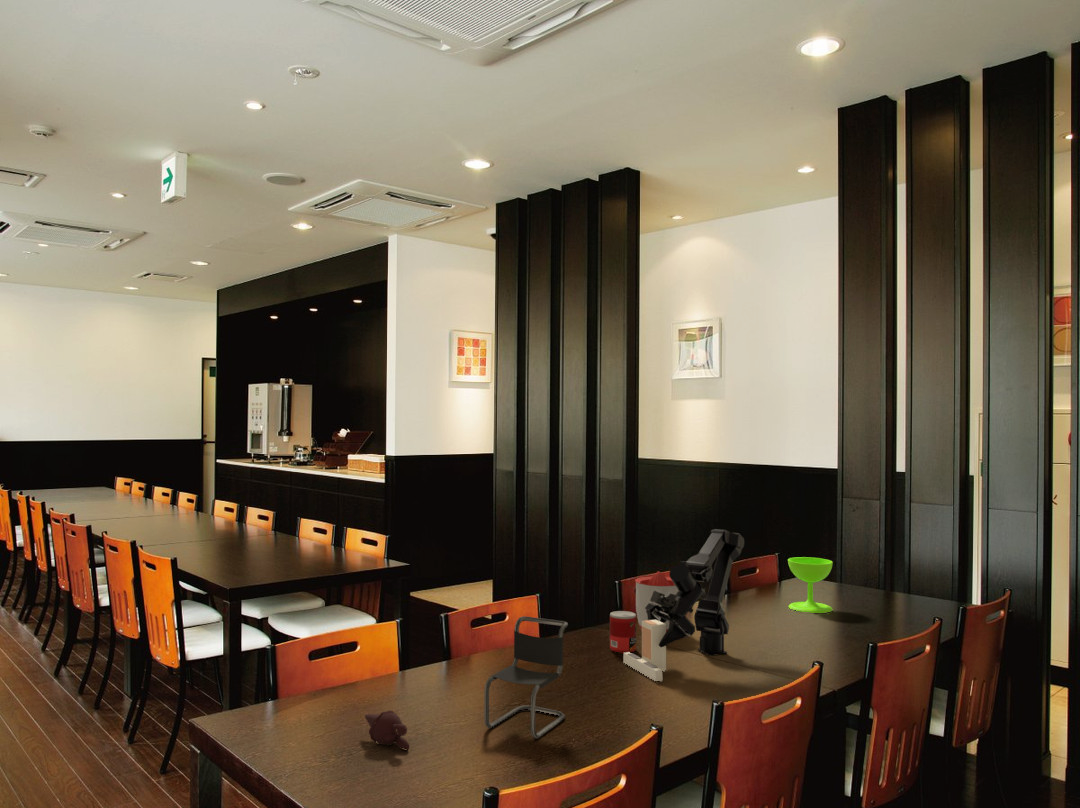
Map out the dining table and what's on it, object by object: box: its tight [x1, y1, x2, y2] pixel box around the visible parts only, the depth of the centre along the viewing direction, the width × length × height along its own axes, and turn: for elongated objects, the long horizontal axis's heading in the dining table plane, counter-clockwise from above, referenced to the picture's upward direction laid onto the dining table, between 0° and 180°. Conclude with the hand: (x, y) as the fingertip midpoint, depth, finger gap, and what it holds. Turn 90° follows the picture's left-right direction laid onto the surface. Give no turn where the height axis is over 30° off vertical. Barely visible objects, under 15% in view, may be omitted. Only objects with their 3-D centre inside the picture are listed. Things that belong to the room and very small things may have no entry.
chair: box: [483, 615, 569, 739], centre depth 180 cm, size 13×17×22 cm
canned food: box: [609, 610, 637, 654], centre depth 239 cm, size 8×8×11 cm
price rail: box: [622, 652, 663, 682], centre depth 218 cm, size 2×18×3 cm, turn 22°
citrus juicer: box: [635, 570, 679, 632], centre depth 261 cm, size 16×17×20 cm
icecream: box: [364, 710, 410, 750], centre depth 168 cm, size 7×7×15 cm
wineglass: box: [787, 556, 834, 613], centre depth 296 cm, size 16×16×18 cm
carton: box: [641, 620, 667, 672], centre depth 221 cm, size 5×6×13 cm
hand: (651, 642), depth 220 cm, fingers open, 9 cm apart
